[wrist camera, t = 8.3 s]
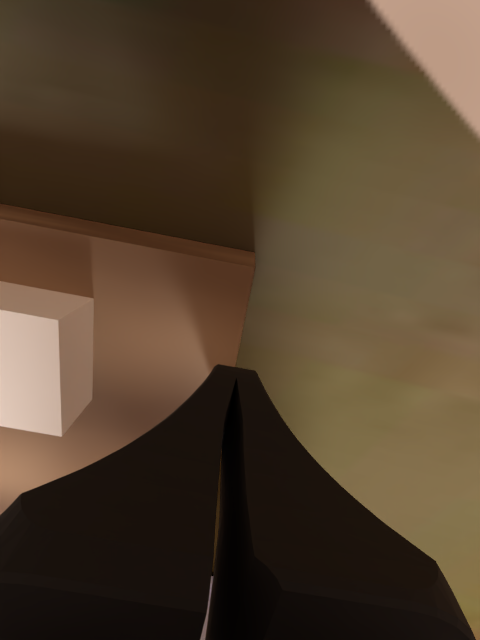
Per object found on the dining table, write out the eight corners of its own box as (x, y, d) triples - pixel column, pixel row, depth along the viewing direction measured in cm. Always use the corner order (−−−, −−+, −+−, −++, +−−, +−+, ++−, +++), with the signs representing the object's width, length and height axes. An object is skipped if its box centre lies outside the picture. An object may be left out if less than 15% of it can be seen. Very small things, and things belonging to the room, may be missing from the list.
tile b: (92, 399, 12) (61, 436, 10) (-16, 380, 12) (-67, 414, 10) (93, 298, 10) (58, 320, 8) (-29, 275, 10) (-93, 292, 8)
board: (205, 501, 18) (196, 558, 15) (-29, 461, 17) (-84, 512, 14) (255, 252, 12) (255, 267, 10) (-75, 189, 12) (-173, 185, 9)
